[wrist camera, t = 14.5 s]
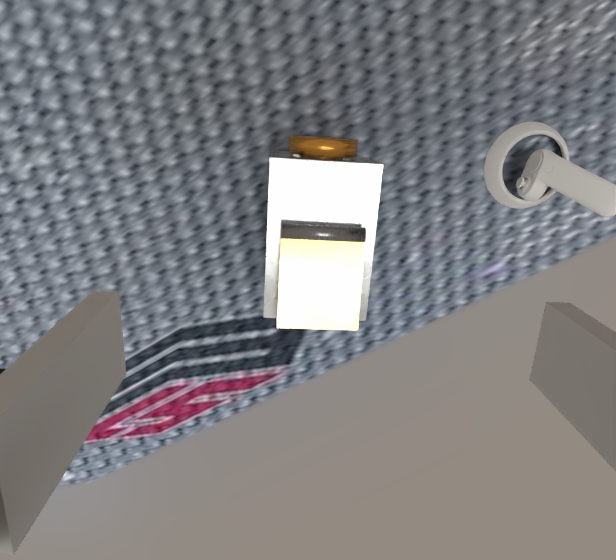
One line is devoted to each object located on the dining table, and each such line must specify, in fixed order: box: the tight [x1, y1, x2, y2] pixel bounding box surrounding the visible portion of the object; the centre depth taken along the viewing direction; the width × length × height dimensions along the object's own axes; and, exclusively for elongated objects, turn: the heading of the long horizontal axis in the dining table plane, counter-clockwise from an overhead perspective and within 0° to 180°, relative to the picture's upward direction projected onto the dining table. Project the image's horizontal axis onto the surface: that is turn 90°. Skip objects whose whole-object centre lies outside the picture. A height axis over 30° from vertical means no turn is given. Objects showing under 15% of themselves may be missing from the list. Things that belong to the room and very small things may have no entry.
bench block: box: [264, 150, 383, 321], centre depth 39 cm, size 8×12×8 cm, turn 176°
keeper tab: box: [277, 223, 366, 330], centre depth 35 cm, size 6×8×1 cm
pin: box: [289, 136, 358, 161], centre depth 38 cm, size 5×12×5 cm, turn 176°
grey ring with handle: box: [484, 122, 616, 217], centre depth 41 cm, size 8×12×7 cm
